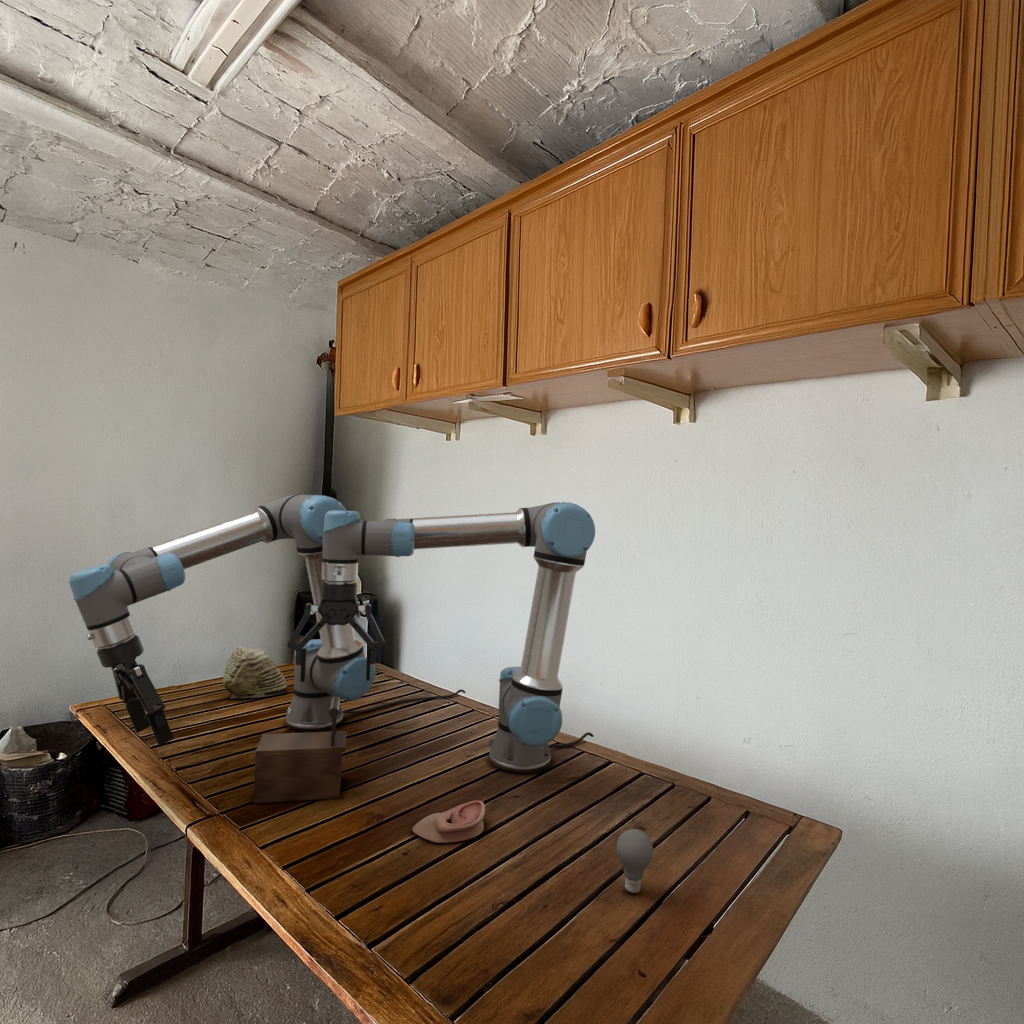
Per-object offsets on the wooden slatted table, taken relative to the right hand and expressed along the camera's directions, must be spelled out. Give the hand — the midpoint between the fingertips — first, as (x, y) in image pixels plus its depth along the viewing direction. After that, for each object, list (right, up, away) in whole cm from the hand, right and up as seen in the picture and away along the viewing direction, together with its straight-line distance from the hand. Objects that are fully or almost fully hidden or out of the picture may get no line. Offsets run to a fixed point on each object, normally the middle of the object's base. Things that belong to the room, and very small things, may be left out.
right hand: (335, 679), depth 137 cm
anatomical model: (+26, -25, -14) cm, 39 cm away
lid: (-7, -14, -1) cm, 16 cm away
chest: (-7, -24, -1) cm, 25 cm away
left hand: (-35, -10, -7) cm, 37 cm away
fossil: (-42, -21, +61) cm, 77 cm away
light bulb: (+58, -27, -32) cm, 72 cm away
